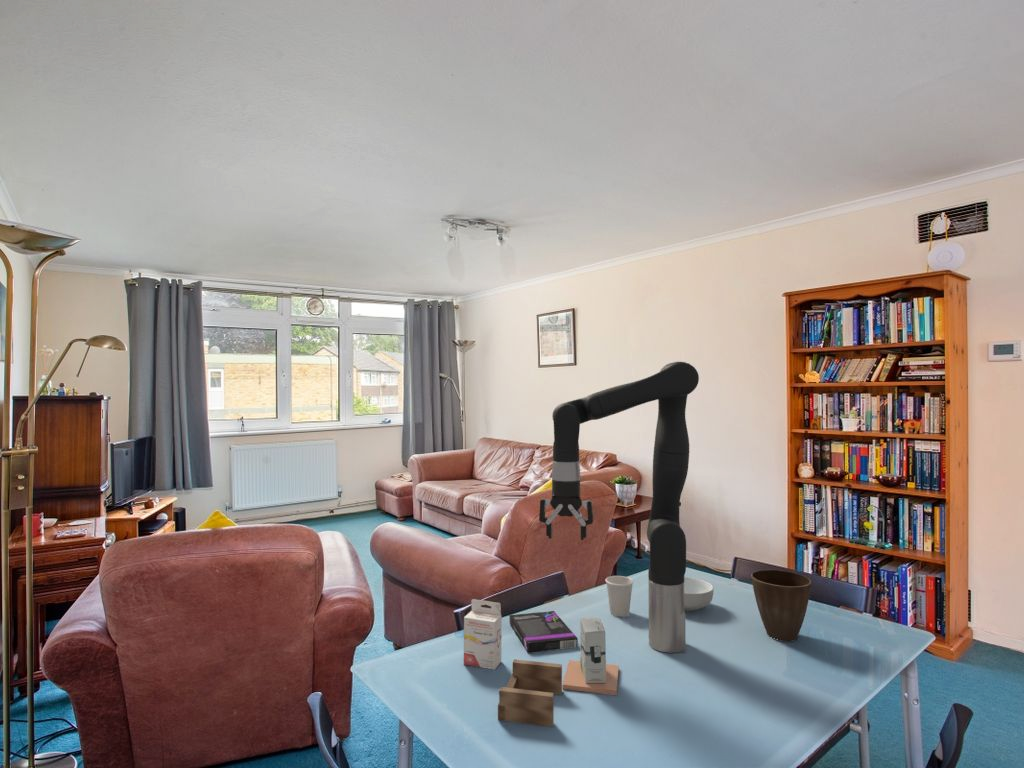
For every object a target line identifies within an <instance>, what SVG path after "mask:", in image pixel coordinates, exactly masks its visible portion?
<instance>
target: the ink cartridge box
mask: <svg viewBox="0 0 1024 768" xmlns="http://www.w3.org/2000/svg"><path fill="white" fill-rule="evenodd" d="M470 601H471V602H470V603H471V610H470V611H469V612H468V613H467V614H466V615H465V616H464V617H463V664H464V665H466V666H467V665H468V666H473V667H477V668H483V669H487V668H488V670H493V671H494V670H495V671H496V669H497V668H498V667H499V665H500V663H501V662H502V631H503V630H502V626H503V625H502V623H503V621H502V619H503V618H502V609H501V606H502V605H501V602H494V601H490V600H482V599H475V598H473V599H471V600H470ZM485 605H487V606H488V607H483V606H485ZM489 607H490V608H489Z"/></svg>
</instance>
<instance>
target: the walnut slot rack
mask: <svg viewBox="0 0 1024 768" xmlns="http://www.w3.org/2000/svg"><path fill="white" fill-rule="evenodd" d="M562 693H563V665H562V663H553V662H543V661H535V660H534V661H533V660H523V659H513V661H512V674H511V675H510V678H509V680H508V682H507V684H506V686H505V687H504V686H500V687H499V690H498V695H499V696H498V704H497V720H498V721H502V722H503V721H504V722H511V723H518V724H525V725H532V726H533V725H534V726H540V727H548V728H549V727H550V728H553V727H554V724H555V723H554V721H555V720H554V718H555V713H554V712H555V711H554V705H555V702H554V699H555V697H554V695H559V694H561V695H562Z"/></svg>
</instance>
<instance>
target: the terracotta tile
mask: <svg viewBox="0 0 1024 768" xmlns="http://www.w3.org/2000/svg"><path fill="white" fill-rule="evenodd" d="M618 680H619V665H618V664H609V663H606V683H585V679H584V676H583V672H582V669H581V660H579V661H578V660H570V659H569V660H568V662H567V667H566V670H565V675H564V677H563V680H562V690H567V689H569V691H578V692H584V693H585V692H587V693H593V694H594V693H595V694H603V695H611V696H613V695H614V696H617V693H618Z"/></svg>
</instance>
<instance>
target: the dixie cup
mask: <svg viewBox="0 0 1024 768" xmlns="http://www.w3.org/2000/svg"><path fill="white" fill-rule="evenodd" d="M604 581H605V583H606V589H607V591H606V592H607V597H608V605H609V613H610V615H611V616H614V617H618V618H619V617H628V616H629V615H630V610H631V609H630V608H631V599H632V592H633V584H634V580H633V579H632V578H630V577H628V576H622V575H612V576H611V575H610V576H607V577H606V578H605V580H604Z"/></svg>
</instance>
